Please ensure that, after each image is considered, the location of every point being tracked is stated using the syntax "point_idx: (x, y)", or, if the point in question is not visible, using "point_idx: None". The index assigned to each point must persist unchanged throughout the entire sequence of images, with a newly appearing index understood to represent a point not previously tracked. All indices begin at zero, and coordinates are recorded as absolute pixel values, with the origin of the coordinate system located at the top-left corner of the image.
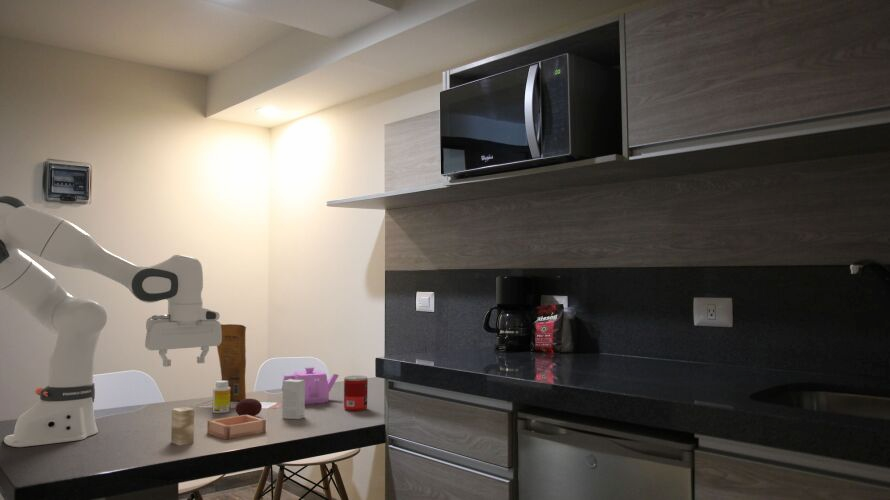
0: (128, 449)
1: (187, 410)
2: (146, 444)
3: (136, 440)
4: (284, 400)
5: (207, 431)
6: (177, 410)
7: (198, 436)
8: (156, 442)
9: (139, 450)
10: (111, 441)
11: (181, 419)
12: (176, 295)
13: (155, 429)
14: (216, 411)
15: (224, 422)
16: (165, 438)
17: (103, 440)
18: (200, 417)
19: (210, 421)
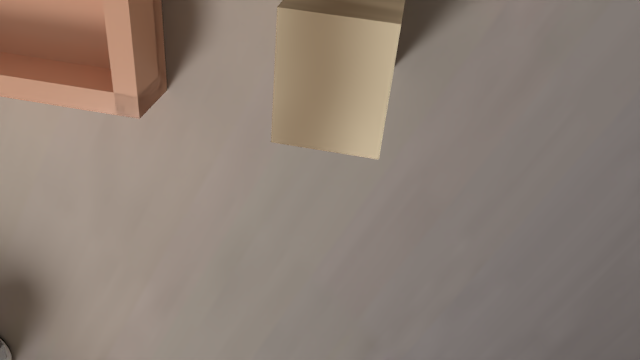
0: (626, 104)
1: (336, 15)
2: (501, 123)
3: (475, 224)
4: None
5: (164, 90)
6: (387, 78)
7: (233, 60)
8: (445, 119)
9: (614, 37)
10: (550, 288)
11: (391, 1)
12: None
13: (306, 315)
14: None
15: (57, 73)
16: None
17: (556, 324)
18: (80, 336)
19: (134, 88)
